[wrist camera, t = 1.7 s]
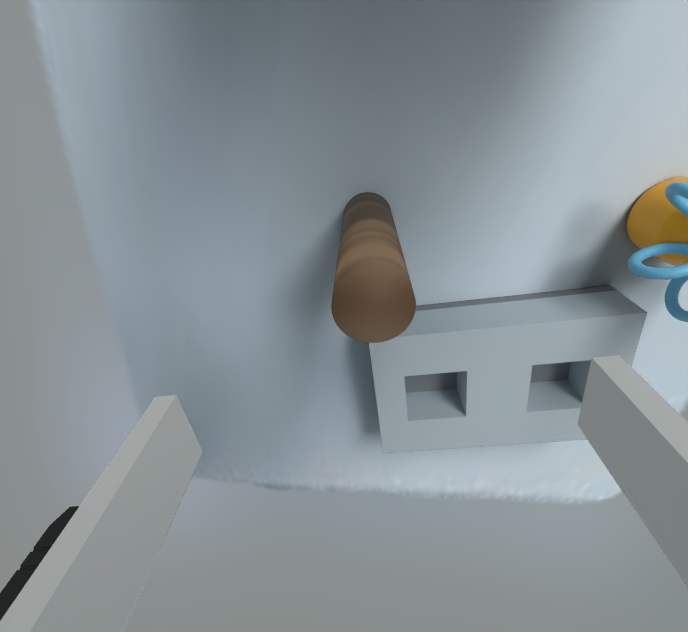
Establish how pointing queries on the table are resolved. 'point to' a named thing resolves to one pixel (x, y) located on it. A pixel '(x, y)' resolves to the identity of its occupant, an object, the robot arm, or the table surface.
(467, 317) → the hole block
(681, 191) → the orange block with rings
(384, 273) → the pin
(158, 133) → the table surface
